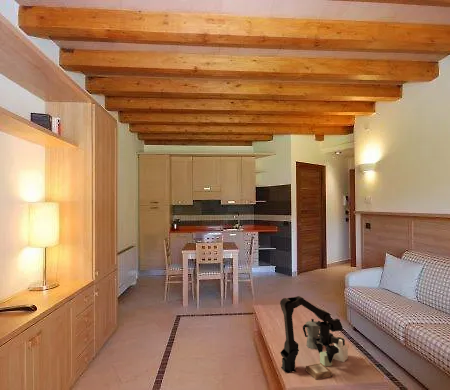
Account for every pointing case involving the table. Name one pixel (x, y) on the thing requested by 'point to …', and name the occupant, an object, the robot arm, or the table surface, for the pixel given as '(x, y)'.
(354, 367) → the table surface
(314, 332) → the coffeepot
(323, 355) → the sage block
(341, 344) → the medicine bottle
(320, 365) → the walnut base
